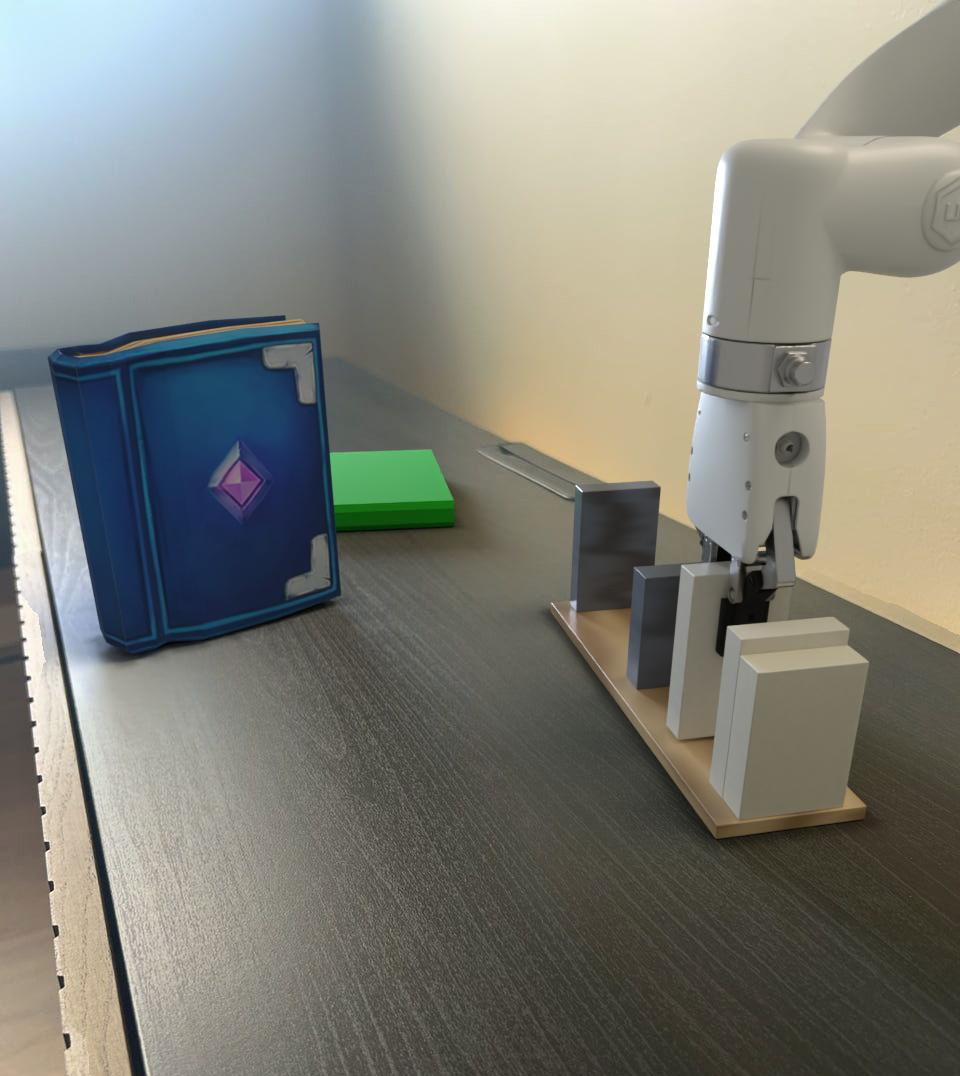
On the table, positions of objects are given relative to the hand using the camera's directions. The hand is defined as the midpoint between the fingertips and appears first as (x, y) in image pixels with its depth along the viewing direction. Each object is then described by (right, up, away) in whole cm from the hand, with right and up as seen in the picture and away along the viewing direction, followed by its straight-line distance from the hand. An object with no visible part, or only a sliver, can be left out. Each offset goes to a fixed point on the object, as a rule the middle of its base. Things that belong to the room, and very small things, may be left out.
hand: (729, 642), depth 71 cm
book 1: (-40, +2, +22) cm, 45 cm away
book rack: (-2, -4, +10) cm, 11 cm away
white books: (+2, -10, -4) cm, 11 cm away
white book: (0, -6, +3) cm, 7 cm away
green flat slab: (-35, +16, +54) cm, 66 cm away
